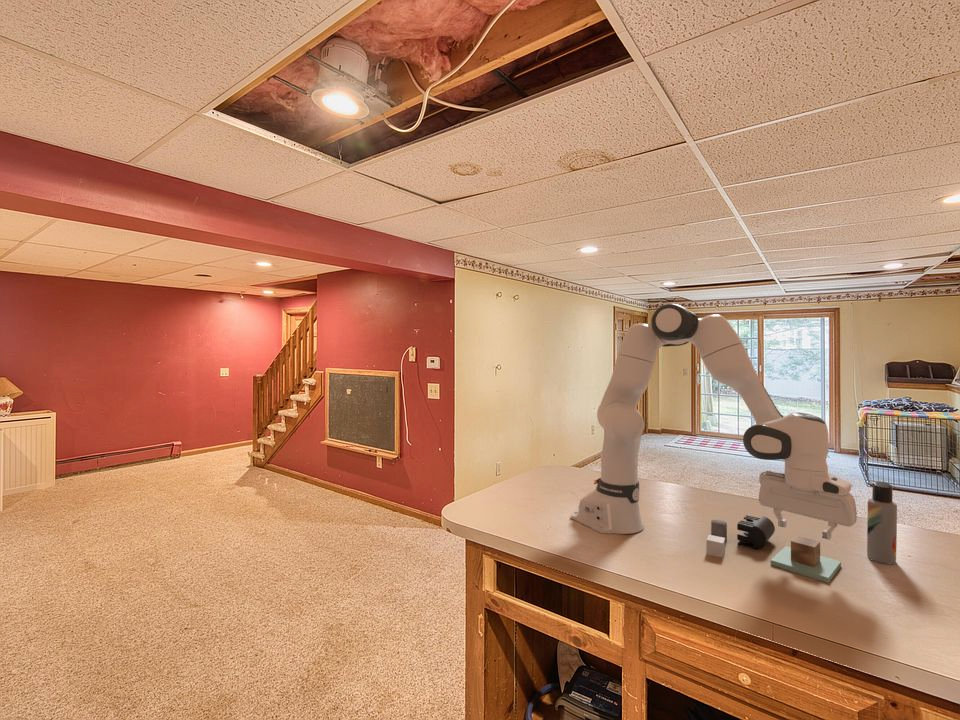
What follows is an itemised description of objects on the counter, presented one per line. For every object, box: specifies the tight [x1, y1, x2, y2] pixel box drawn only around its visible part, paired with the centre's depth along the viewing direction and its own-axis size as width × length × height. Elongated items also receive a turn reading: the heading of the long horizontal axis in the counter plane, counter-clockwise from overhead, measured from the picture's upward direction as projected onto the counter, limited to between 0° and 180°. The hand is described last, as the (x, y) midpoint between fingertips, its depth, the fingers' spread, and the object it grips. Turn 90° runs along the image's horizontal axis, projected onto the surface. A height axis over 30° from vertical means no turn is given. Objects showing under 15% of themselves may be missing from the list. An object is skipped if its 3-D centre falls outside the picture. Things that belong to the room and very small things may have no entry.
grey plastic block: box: [705, 534, 726, 559], centre depth 123 cm, size 4×4×4 cm
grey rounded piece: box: [710, 519, 728, 543], centre depth 132 cm, size 4×4×5 cm
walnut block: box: [790, 535, 821, 567], centre depth 116 cm, size 5×5×5 cm
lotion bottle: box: [866, 481, 898, 565], centre depth 118 cm, size 6×6×20 cm
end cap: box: [736, 514, 776, 550], centre depth 129 cm, size 10×7×7 cm
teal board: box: [770, 545, 842, 583], centre depth 116 cm, size 12×12×1 cm
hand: (803, 532), depth 115 cm, fingers open, 8 cm apart
